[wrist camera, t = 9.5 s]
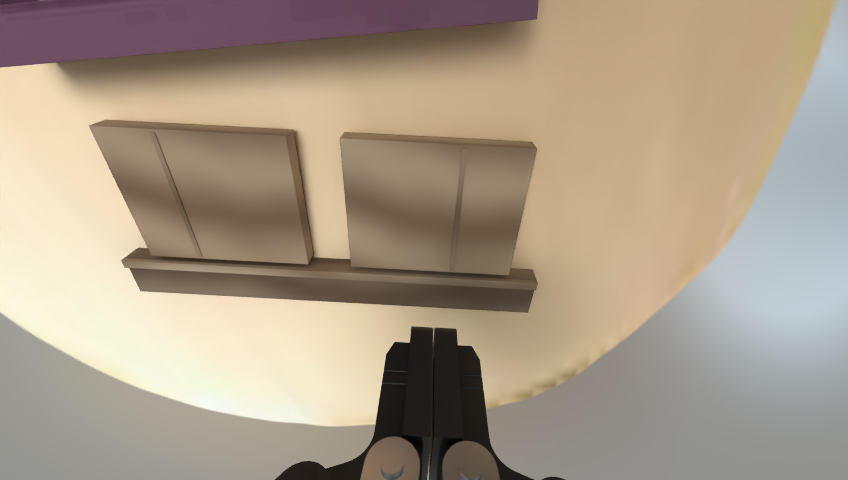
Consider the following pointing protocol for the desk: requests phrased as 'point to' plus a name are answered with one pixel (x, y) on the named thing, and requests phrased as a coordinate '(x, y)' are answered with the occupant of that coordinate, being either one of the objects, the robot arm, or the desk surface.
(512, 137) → the desk surface
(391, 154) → the plank
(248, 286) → the strip
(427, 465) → the robot arm
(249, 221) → the plank
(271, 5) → the purple gear tray
